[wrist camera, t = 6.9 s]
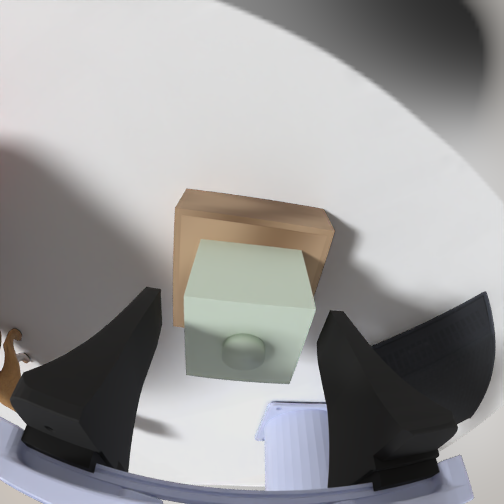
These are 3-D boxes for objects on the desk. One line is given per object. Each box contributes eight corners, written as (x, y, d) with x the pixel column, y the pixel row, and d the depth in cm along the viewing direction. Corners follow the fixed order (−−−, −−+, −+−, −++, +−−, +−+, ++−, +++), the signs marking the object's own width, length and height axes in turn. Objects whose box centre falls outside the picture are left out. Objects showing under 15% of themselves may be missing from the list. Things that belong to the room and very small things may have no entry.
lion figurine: (116, 403, 26) (94, 478, 18) (93, 412, 28) (73, 477, 20) (1, 311, 20) (-47, 381, 12) (-9, 330, 22) (-48, 393, 14)
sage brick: (301, 250, 14) (318, 319, 10) (283, 322, 16) (290, 393, 12) (200, 238, 13) (180, 305, 10) (198, 314, 16) (184, 384, 12)
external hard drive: (379, 432, 30) (385, 459, 27) (347, 349, 22) (358, 392, 18) (471, 391, 27) (482, 415, 24) (489, 282, 19) (515, 315, 15)
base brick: (323, 209, 15) (335, 231, 13) (293, 311, 19) (297, 341, 17) (186, 188, 15) (175, 208, 13) (181, 297, 18) (173, 326, 16)
